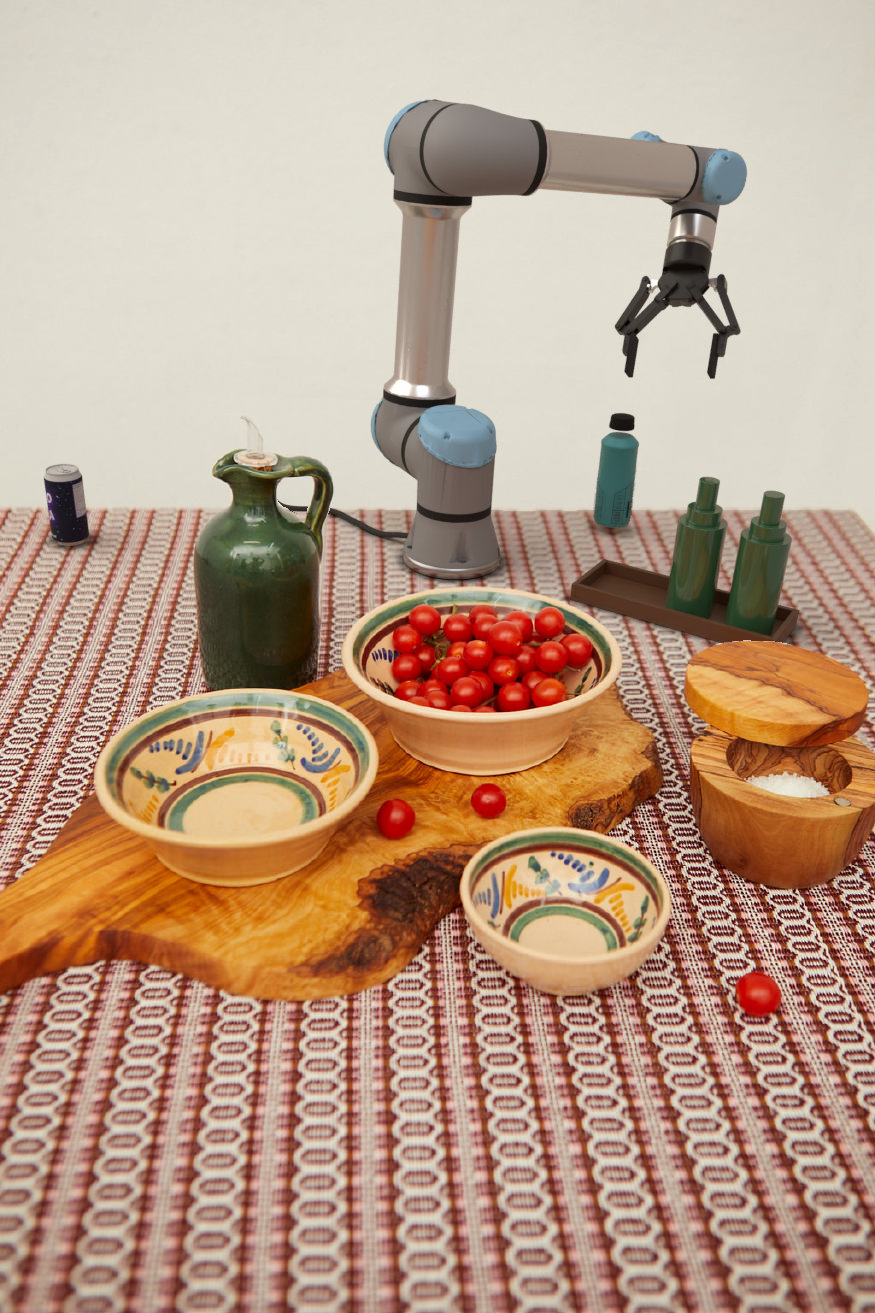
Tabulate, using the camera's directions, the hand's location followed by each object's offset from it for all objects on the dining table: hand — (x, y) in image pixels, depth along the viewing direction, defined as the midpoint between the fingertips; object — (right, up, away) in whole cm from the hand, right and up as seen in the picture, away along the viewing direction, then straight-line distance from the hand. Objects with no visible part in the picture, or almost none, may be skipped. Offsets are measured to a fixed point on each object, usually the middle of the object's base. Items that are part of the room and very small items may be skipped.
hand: (669, 375), depth 178 cm
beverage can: (-96, -27, -3) cm, 100 cm away
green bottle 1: (-1, -39, -18) cm, 43 cm away
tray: (-2, -39, -17) cm, 43 cm away
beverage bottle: (-8, -24, +11) cm, 27 cm away
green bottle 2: (+7, -42, -22) cm, 48 cm away
